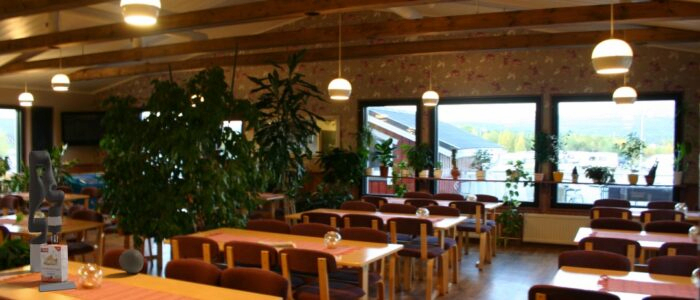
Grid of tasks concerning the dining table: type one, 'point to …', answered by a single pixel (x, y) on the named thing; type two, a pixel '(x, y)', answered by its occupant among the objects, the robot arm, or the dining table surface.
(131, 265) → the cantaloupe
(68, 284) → the mat
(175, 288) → the dining table surface
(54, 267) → the cracker box
